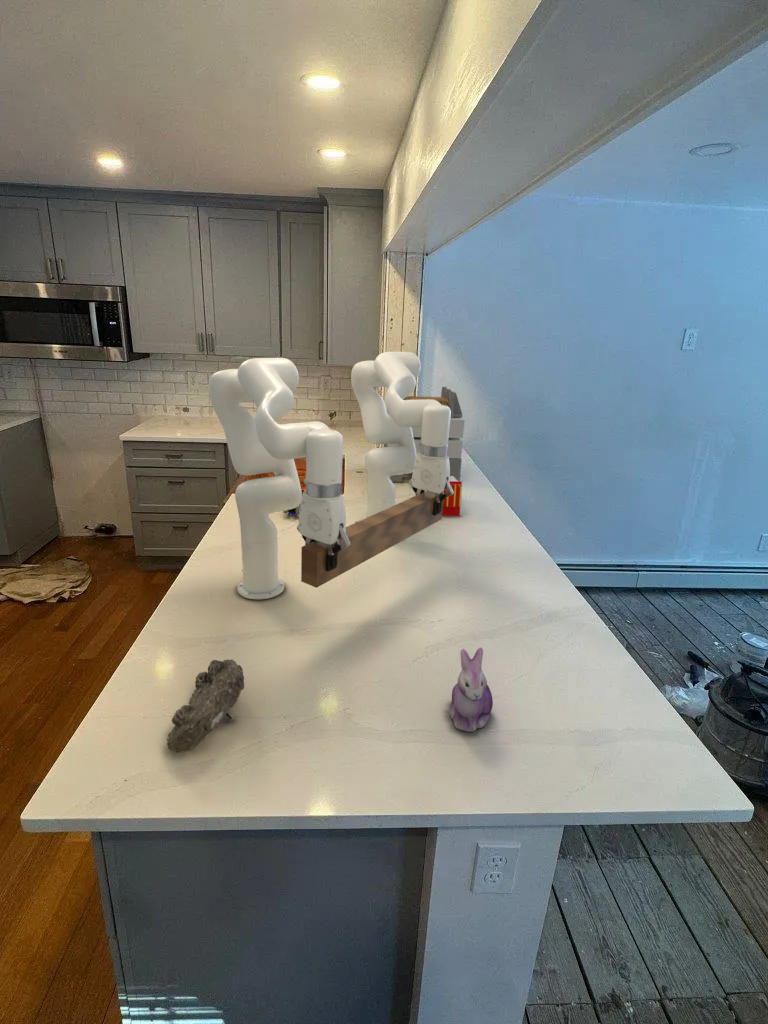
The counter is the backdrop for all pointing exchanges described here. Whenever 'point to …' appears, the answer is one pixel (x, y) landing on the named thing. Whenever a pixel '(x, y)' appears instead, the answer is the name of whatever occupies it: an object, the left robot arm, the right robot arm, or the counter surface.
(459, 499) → the red striped box
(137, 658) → the counter surface
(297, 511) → the figurine character
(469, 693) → the figurine
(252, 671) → the counter surface
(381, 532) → the bar
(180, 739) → the fossil
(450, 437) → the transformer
